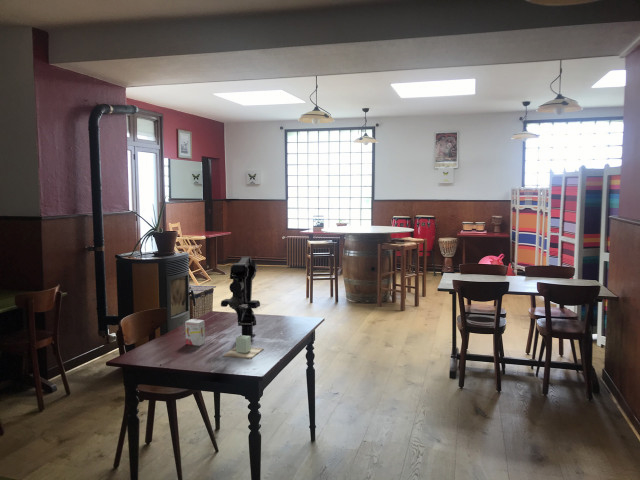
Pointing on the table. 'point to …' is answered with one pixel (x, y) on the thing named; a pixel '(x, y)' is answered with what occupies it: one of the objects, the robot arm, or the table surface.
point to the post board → (247, 355)
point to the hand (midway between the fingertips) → (240, 320)
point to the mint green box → (243, 344)
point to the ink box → (195, 332)
